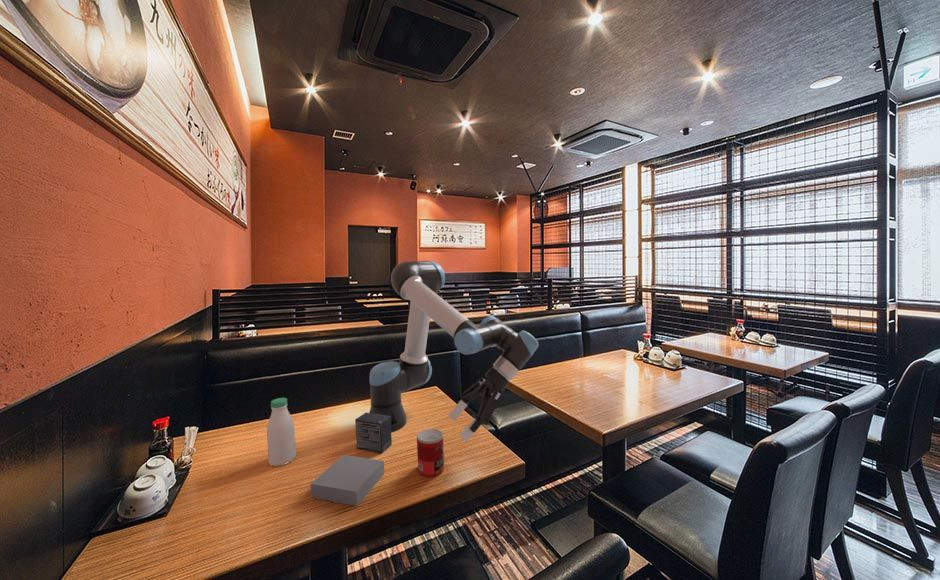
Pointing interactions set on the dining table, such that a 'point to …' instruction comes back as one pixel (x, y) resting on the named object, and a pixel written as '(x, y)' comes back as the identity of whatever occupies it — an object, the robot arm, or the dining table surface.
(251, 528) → the dining table surface
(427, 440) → the canned food
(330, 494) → the slate stand
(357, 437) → the small box
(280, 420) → the milk bottle
